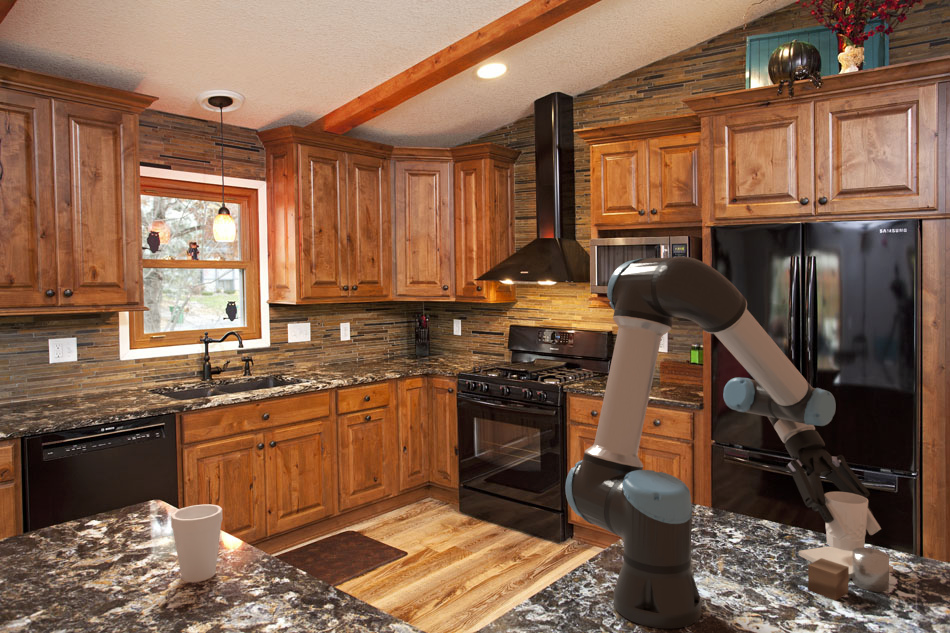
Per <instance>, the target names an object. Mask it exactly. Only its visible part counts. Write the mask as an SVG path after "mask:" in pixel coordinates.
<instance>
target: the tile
mask: <svg viewBox="0 0 950 633" xmlns="http://www.w3.org/2000/svg"><path fill="white" fill-rule="evenodd" d="M798 556H800V557H801V558H802V559H805V560H807V561H808V562H810V563H813V562H815V561H817V560H819V559H821V558H822V559H826V560H829V561H832V562H835V563H838V564H841V565H844V566H847V567H849V580H850V579H852V564H853V551H845V550H840V549H837V548H834V547H832V546H830V545H829V546H824V547H823V546H822V547H816V548H809V549H802V550H798ZM893 572H894V566H892V565H891V564H889V573H893Z"/></svg>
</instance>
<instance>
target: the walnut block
mask: <svg viewBox="0 0 950 633" xmlns="http://www.w3.org/2000/svg"><path fill="white" fill-rule="evenodd" d="M807 566H808V567H807V568H808V570H807V574H808V576H807V581H808V582H807V591H808V592H811V593H814V594H817V595H820V596H822V597H825V598H827V599H831V600H833V601H835V602H836V601H837V600H839V599H840V598H842V597H844V596H845V595H847V594H849V580H850V579H849V567H847V566H844V565H841V564H838V563H835V562H832V561H829V560H826V559H822V558H821V559H819V560H817V561H815V562H813V563H812V562H810V563H809V564H808V565H807Z"/></svg>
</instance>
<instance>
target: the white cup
mask: <svg viewBox="0 0 950 633" xmlns="http://www.w3.org/2000/svg"><path fill="white" fill-rule="evenodd" d="M824 496H825V500H826V505H827V504H831V506H832V507H833V509H834V510H835V512H836V513H837V515H838V517H839V518H840V520H841V522H842V523H843V525H844V527H845V528H846V530H847V532H848V533H849V534H848V535H846V536H845V537H843V538H842V539H841V540H837V538H836V536H835V534H834V533H833V531H832V529H831V528H830V526H829V524H828V523H826V522H825V521H824V523H825V532H826V542H827V545H829V546H832V547H834V548H837V549H840V550H845V551H853V549H855V548H865V541H866V535H867V529H866V526H867V512H868V506H869V499H868V497H866V498H865V497H863V496H860V495H857V494H853V493H848V492H842V491H829V492H824Z"/></svg>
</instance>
